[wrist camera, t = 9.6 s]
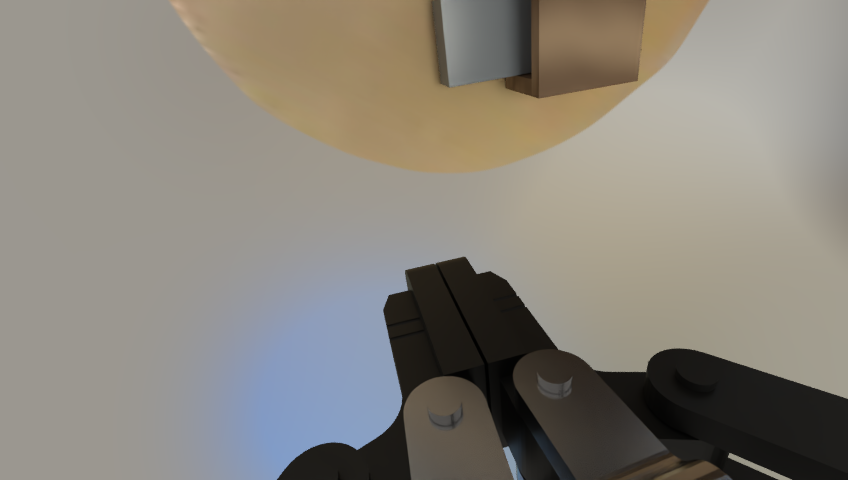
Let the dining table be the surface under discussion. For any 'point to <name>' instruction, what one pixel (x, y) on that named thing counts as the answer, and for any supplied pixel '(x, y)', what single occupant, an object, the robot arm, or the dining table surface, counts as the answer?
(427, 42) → the dining table surface
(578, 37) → the walnut bridge
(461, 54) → the grey rectangular block
